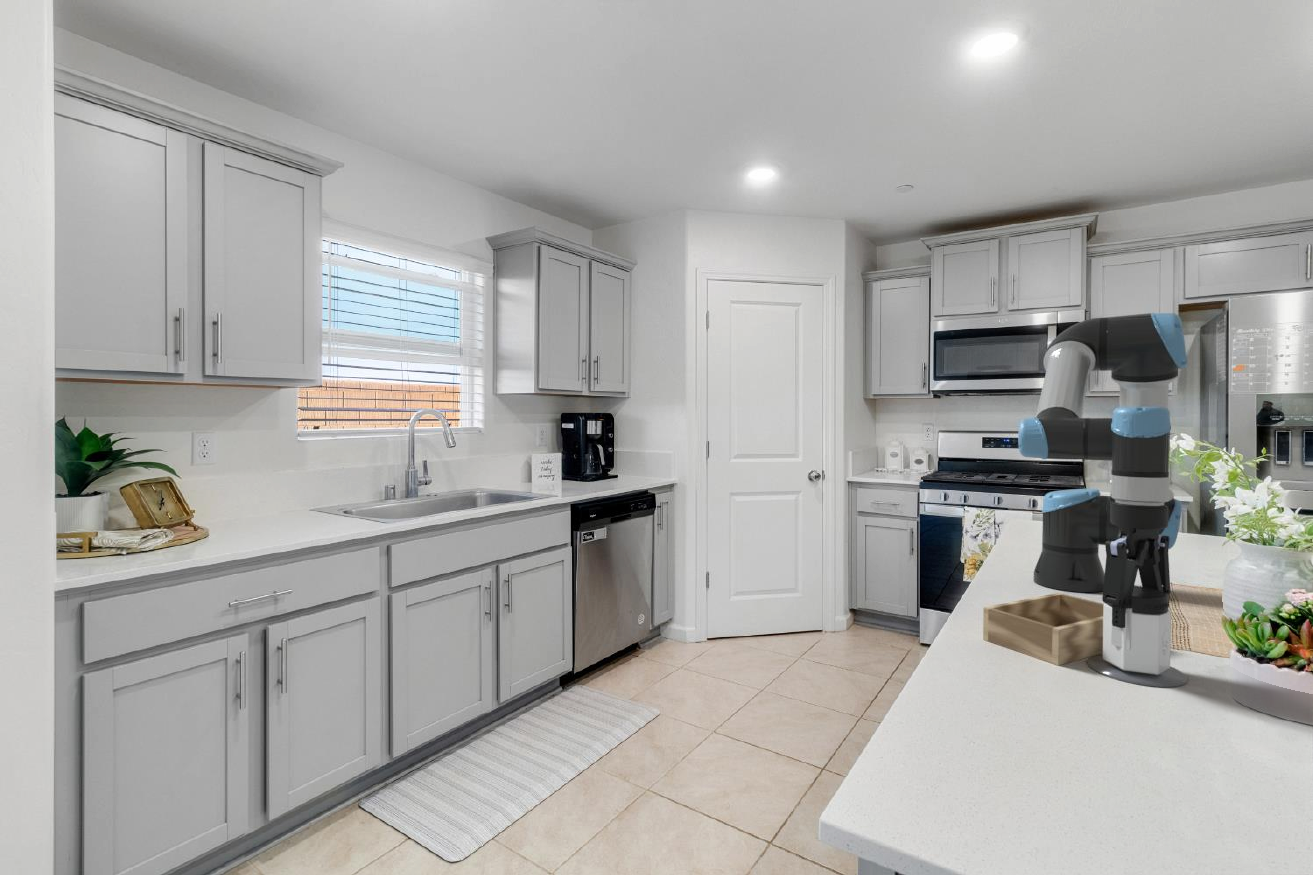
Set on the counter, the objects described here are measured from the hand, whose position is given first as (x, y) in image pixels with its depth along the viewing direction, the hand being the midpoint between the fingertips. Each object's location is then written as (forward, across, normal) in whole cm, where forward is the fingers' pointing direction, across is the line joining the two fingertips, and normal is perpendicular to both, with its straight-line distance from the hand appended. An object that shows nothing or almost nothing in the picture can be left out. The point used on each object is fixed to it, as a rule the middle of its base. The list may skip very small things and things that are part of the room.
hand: (1136, 642), depth 106 cm
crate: (+5, -2, -14) cm, 15 cm away
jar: (+4, 0, 0) cm, 4 cm away
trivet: (+5, 0, 0) cm, 5 cm away
